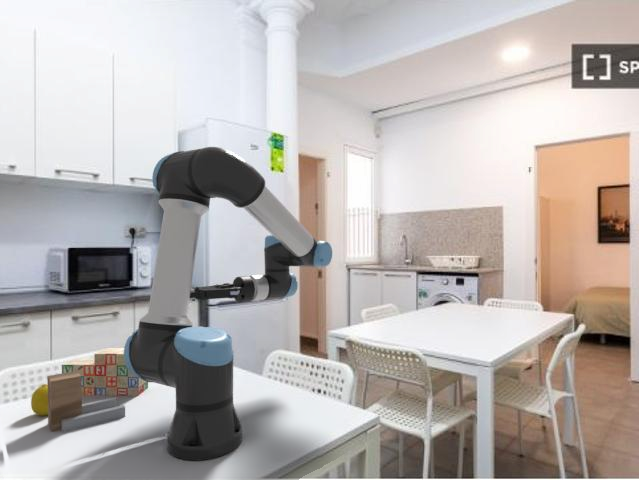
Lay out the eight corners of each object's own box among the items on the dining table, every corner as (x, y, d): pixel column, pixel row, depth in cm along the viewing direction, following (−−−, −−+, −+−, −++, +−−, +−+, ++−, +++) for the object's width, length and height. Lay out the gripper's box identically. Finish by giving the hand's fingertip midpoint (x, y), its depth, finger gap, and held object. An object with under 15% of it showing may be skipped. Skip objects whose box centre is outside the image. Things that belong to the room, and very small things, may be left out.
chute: (125, 419, 104) (125, 407, 104) (62, 435, 96) (62, 422, 96) (115, 408, 111) (115, 396, 111) (55, 422, 103) (55, 410, 103)
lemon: (45, 422, 103) (45, 388, 103) (25, 421, 104) (25, 387, 104) (63, 413, 108) (63, 381, 108) (44, 411, 109) (44, 379, 109)
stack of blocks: (61, 398, 119) (60, 353, 118) (75, 390, 125) (74, 347, 125) (139, 399, 118) (138, 353, 118) (149, 390, 124) (148, 347, 124)
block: (82, 423, 100) (81, 375, 100) (51, 431, 96) (50, 381, 96) (77, 417, 104) (76, 370, 104) (48, 424, 100) (47, 376, 100)
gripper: (261, 304, 123) (179, 313, 108) (238, 299, 133) (160, 307, 118) (261, 277, 123) (179, 283, 108) (238, 274, 133) (160, 280, 118)
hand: (169, 296), depth 113 cm, fingers closed
